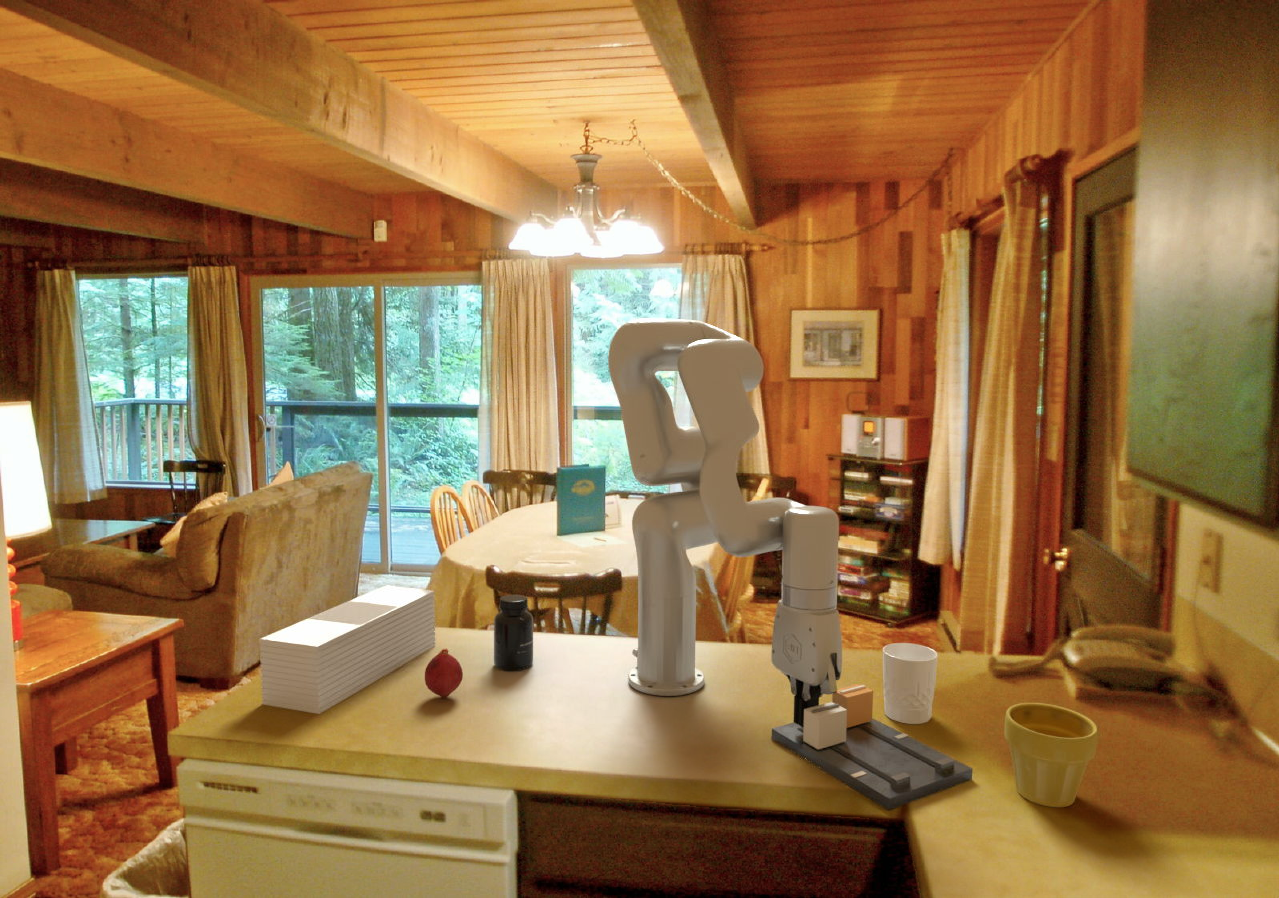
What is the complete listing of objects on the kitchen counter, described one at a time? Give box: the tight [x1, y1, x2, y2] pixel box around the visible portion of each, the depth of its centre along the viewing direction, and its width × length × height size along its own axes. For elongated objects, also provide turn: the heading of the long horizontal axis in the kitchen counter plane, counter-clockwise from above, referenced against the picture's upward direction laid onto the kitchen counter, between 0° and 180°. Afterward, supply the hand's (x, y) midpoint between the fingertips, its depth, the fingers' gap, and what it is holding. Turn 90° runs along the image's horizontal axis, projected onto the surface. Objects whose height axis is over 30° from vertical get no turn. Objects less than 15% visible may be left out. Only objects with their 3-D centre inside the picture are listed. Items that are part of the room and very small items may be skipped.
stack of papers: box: [258, 585, 436, 715], centre depth 144 cm, size 32×11×11 cm, turn 161°
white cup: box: [882, 642, 939, 725], centre depth 128 cm, size 8×8×10 cm
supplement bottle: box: [493, 594, 534, 672], centre depth 148 cm, size 7×7×12 cm
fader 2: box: [831, 683, 874, 728], centre depth 122 cm, size 3×5×5 cm, turn 120°
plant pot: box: [1003, 702, 1099, 808], centre depth 105 cm, size 10×10×10 cm
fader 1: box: [803, 701, 847, 750], centre depth 116 cm, size 3×5×5 cm, turn 120°
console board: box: [771, 717, 973, 811], centre depth 115 cm, size 22×15×3 cm
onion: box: [424, 647, 464, 699], centre depth 134 cm, size 6×6×8 cm
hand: (806, 722), depth 119 cm, fingers closed
